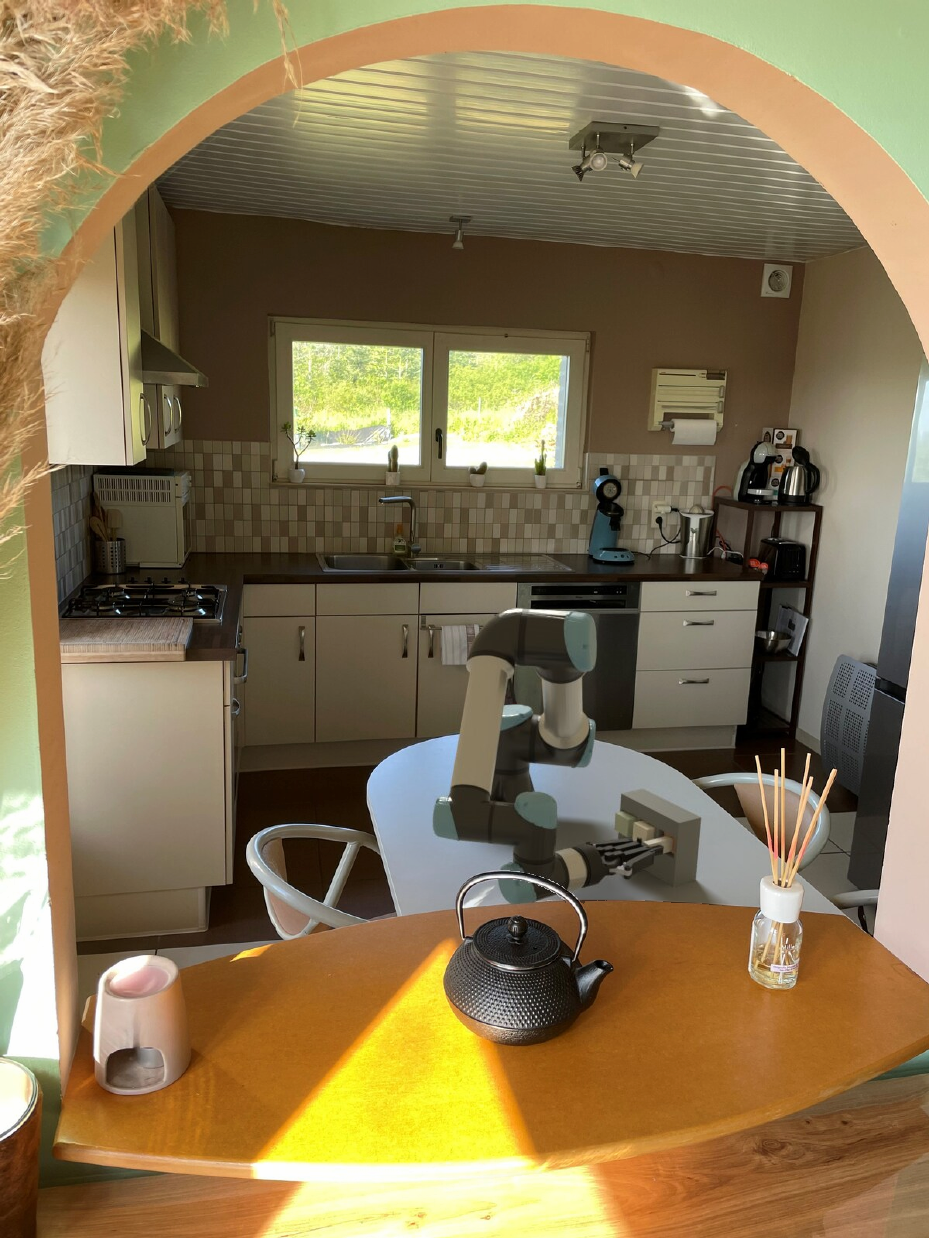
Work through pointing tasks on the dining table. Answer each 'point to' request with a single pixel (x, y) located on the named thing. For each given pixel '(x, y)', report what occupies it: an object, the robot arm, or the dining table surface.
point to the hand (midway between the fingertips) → (670, 843)
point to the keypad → (673, 823)
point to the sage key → (624, 823)
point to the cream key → (643, 831)
